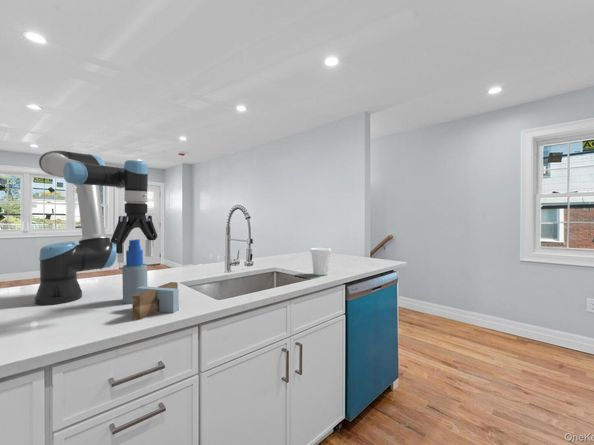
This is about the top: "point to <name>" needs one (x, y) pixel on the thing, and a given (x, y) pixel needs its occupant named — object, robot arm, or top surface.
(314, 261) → the cup
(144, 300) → the slotted stand
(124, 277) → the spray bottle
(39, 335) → the top surface
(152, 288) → the slotted plate
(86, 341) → the top surface
